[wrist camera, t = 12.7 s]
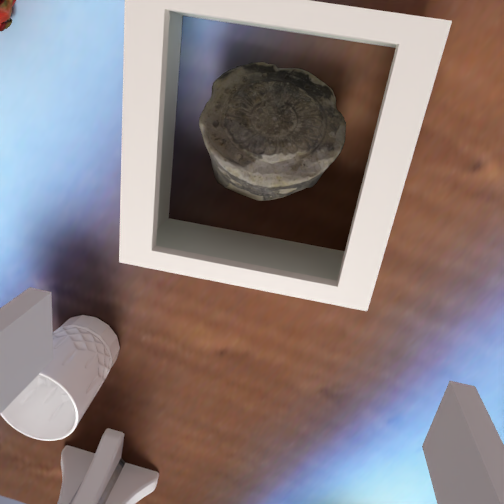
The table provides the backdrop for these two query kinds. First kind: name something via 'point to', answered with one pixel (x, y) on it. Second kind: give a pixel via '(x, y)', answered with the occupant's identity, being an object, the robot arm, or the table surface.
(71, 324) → the white cup
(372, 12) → the box
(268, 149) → the fossil
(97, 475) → the toy gun turret
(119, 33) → the table surface
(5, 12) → the dragon fruit
